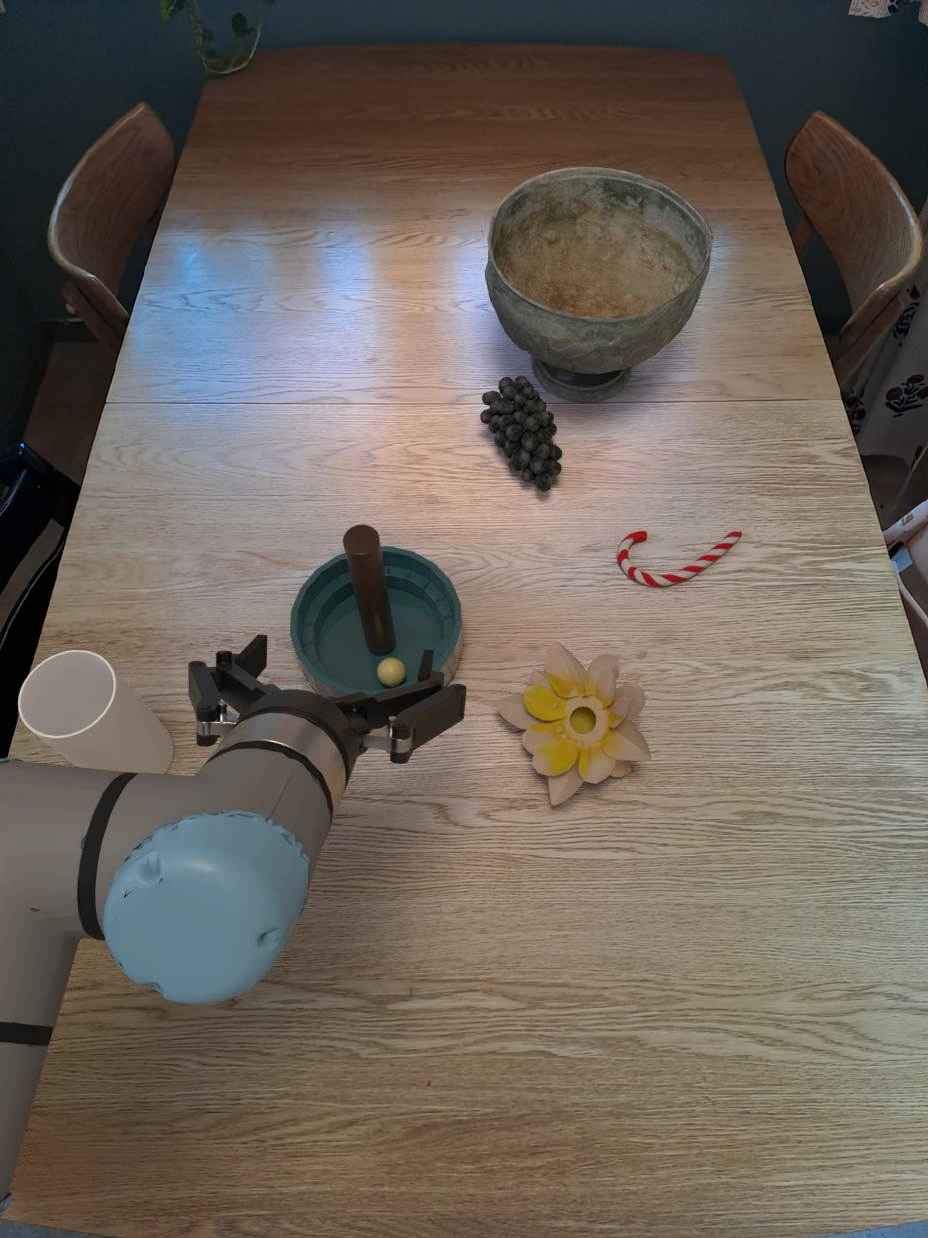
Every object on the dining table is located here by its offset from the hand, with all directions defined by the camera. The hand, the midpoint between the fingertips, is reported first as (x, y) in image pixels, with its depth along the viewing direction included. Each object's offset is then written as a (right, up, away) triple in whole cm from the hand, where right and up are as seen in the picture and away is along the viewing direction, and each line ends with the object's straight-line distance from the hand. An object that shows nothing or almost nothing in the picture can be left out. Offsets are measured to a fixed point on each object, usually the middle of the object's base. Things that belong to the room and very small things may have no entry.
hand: (345, 657), depth 69 cm
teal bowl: (+1, 0, +23) cm, 23 cm away
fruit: (+17, +23, +35) cm, 45 cm away
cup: (-24, -11, +17) cm, 31 cm away
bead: (+2, -2, +19) cm, 19 cm away
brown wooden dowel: (+1, +1, +22) cm, 22 cm away
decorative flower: (+20, -8, +18) cm, 28 cm away
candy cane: (+35, +11, +29) cm, 46 cm away
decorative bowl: (+25, +37, +43) cm, 61 cm away
